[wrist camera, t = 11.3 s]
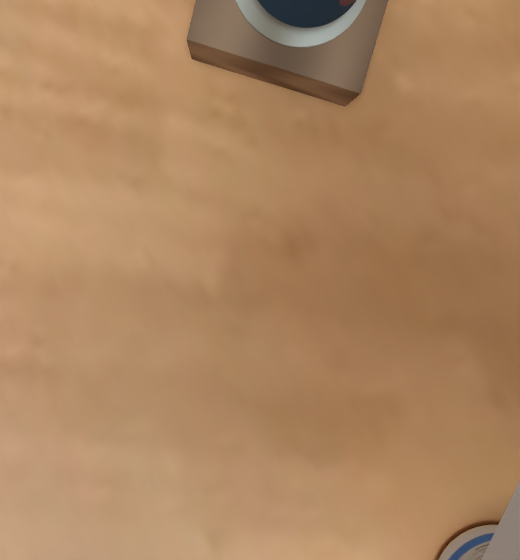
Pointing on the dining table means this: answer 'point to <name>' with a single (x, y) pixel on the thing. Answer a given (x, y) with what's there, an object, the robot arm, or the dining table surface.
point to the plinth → (288, 46)
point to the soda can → (307, 11)
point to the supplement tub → (469, 544)
